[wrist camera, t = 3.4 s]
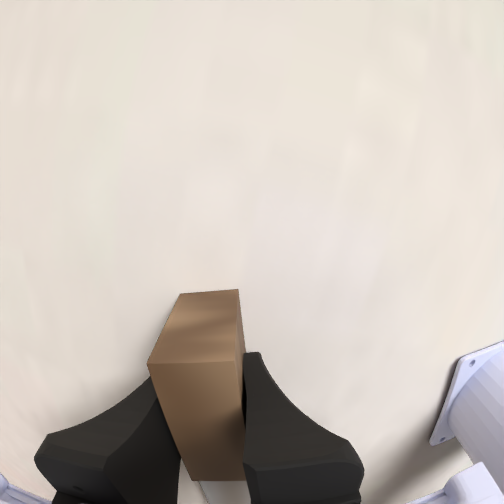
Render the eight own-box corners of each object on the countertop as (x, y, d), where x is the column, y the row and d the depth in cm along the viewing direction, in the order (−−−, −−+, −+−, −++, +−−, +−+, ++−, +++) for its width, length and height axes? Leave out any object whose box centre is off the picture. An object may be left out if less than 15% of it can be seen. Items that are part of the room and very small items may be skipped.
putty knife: (270, 286, 12) (284, 356, 8) (284, 520, 18) (289, 565, 13) (151, 295, 12) (105, 362, 8) (226, 523, 18) (224, 568, 13)
